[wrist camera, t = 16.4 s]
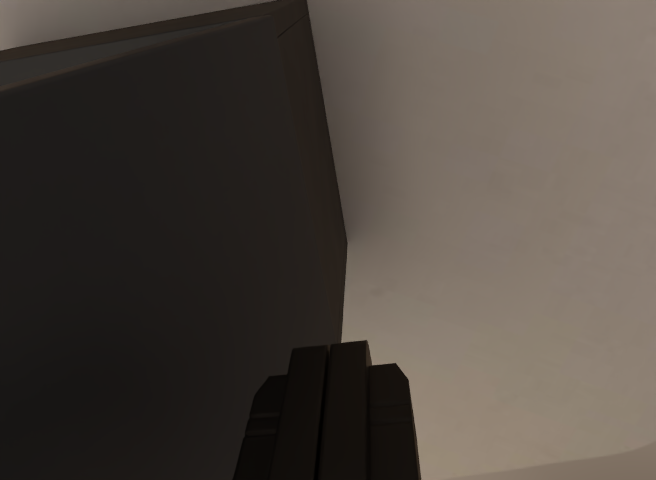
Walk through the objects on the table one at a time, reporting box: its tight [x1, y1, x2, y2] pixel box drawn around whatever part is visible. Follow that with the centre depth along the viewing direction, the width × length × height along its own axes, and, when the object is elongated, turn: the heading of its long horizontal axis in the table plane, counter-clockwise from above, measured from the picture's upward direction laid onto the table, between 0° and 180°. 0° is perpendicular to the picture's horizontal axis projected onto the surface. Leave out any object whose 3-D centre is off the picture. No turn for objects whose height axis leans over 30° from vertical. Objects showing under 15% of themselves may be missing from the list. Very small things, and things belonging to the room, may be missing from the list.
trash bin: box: [0, 0, 347, 343], centre depth 26 cm, size 16×14×13 cm
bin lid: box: [0, 15, 336, 480], centre depth 12 cm, size 16×14×1 cm
